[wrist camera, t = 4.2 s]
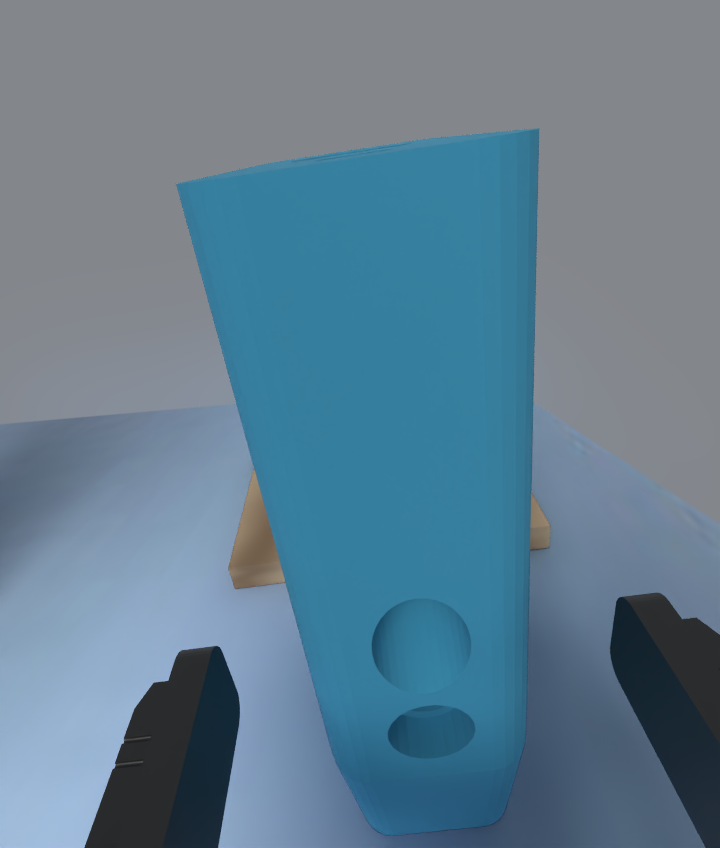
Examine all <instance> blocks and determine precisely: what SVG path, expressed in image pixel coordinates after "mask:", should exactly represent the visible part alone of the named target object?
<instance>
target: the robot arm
mask: <svg viewBox="0 0 720 848" xmlns="http://www.w3.org/2000/svg"><path fill="white" fill-rule="evenodd" d="M610 654H611V660H612V665H613V668H614V671H615V674H616V677H617V679H618V681H619V683H620V685H621V687H622V689H623V691H624V693H625V695H626V696H627V698H628V700H629V702H630V704H631V706H632V708H633V710H634V712H635V714H636V716H637V717H638V719H639V721H640V723H641V725H642V727H643V729H644V731H645V733H646V735H647V737H648V738H649V740H650V742H651V744H652V746H653V748H654V750H655V752H656V754H657V756H658V758H659V759H660V761H661V763H662V765H663V767H664V769H665V771H666V773H667V775H668V777H669V778H670V780H671V782H672V784H673V786H674V788H675V790H676V792H677V794H678V796H679V798H680V799H681V801H682V803H683V805H684V807H685V809H686V811H687V813H688V815H689V817H690V819H691V820H692V822H693V824H694V826H695V828H696V830H697V832H698V834H699V836H700V838H701V840H702V841H703V843H704V845H705V847H706V848H720V635H719V634H718V633H716V632H715V631H714V630H712V629H711V628H710V627H708V626H707V625H706V624H704V623H703V622H701V621H700V620H699V619H697V618H690V619H681V617H680V616H679V614H678V613H677V612H676V610H675V609H674V608H673V606H672V605H671V603H670V602H669V601H668V600H667V598H666V597H665V596H664V595H662V594H661V593H650V594H642V595H634V596H626V597H620V598H618V600H617V602H616V608H615V616H614V623H613V631H612V638H611V645H610ZM239 718H240V705H239V697H238V692H237V689H236V687H235V684H234V681H233V679H232V676H231V674H230V671H229V668H228V666H227V663H226V661H225V658H224V655H223V653H222V650H221V649H220V647H218V646H213V647H205V648H197V649H189V650H182V651H180V652H179V653H178V655H177V657H176V659H175V662H174V665H173V668H172V671H171V674H170V677H169V681H165V682H156V683H153V685H152V686H151V687H150V689H149V690H148V691H147V693H146V694H145V695H144V697H143V698H142V699H141V701H140V702H139V704H138V705H137V706H136V708H135V709H134V712H133V714H132V717H131V720H130V723H129V726H128V728H127V731H126V734H125V737H124V744H122V745H121V748H120V751H119V753H118V756H117V759H116V762H115V764H116V766H115V769H113V770H112V773H111V775H110V778H109V781H108V784H107V787H106V789H105V792H104V795H103V798H102V800H101V803H100V806H99V809H98V812H97V814H96V817H95V820H94V823H93V825H92V828H91V831H90V834H89V836H88V839H87V842H86V845H85V848H218V844H219V839H220V833H221V827H222V821H223V815H224V809H225V803H226V798H227V792H228V786H229V780H230V774H231V768H232V762H233V756H234V751H235V745H236V739H237V733H238V727H239Z"/></svg>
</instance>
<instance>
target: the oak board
mask: <svg viewBox="0 0 720 848" xmlns="http://www.w3.org/2000/svg"><path fill="white" fill-rule="evenodd" d="M549 547H550V524H549V522H548V520H547V519H546V517H545V515H544V513H543V511H542V510H541V508H540V506H539V504H538V503H537V501H536V499H535V497H534V496H533V494H532V492H531V526H530V550H535V549H543V548H549ZM228 569H229V572H230V575H231V578H232V581H233V584H234V587H235V589H239V588H246V587H254V586H261V585H269V584H277V583H284V582H285V579H284V575H283V571H282V568H281V564H280V560H279V557H278V553H277V549H276V546H275V542H274V538H273V535H272V531H271V528H270V524H269V520H268V517H267V513H266V509H265V506H264V502H263V498H262V495H261V491H260V487H259V484H258V480H257V477H256V473H255V469H254V470H253V474H252V478H251V481H250V485H249V489H248V493H247V497H246V501H245V505H244V509H243V513H242V517H241V520H240V524H239V528H238V532H237V536H236V540H235V544H234V548H233V552H232V556H231V559H230V563H229V567H228Z"/></svg>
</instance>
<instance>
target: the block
mask: <svg viewBox="0 0 720 848" xmlns="http://www.w3.org/2000/svg"><path fill="white" fill-rule="evenodd" d="M538 156H539V129H526V130H515V131H505V132H495V133H483V134H472V135H462V136H452V137H441V138H430V139H423V140H416V141H409V142H402V143H396V144H389V145H383V146H376V147H370V148H363V149H357V150H350V151H344V152H337V153H331V154H324V155H318V156H312V157H305V158H298V159H292V160H286V161H280V162H274V163H268V164H264V165H259V166H255V167H250V168H245V169H241V170H236V171H232V172H227V173H223V174H219V175H214V176H209V177H205V178H201V179H196V180H192V181H187V182H183V183H178V184H177V189H178V192H179V196H180V200H181V203H182V207H183V211H184V214H185V218H186V222H187V225H188V229H189V232H190V236H191V240H192V244H193V247H194V251H195V254H196V258H197V262H198V265H199V269H200V273H201V276H202V280H203V284H204V287H205V291H206V294H207V298H208V302H209V305H210V309H211V313H212V316H213V320H214V324H215V327H216V331H217V334H218V338H219V342H220V345H221V349H222V353H223V356H224V360H225V364H226V367H227V371H228V374H229V378H230V382H231V385H232V389H233V393H234V396H235V400H236V404H237V407H238V411H239V415H240V418H241V422H242V426H243V429H244V433H245V437H246V440H247V444H248V447H249V451H250V455H251V458H252V462H253V466H254V469H255V473H256V477H257V480H258V484H259V487H260V491H261V495H262V498H263V502H264V506H265V509H266V513H267V517H268V520H269V524H270V528H271V531H272V535H273V538H274V542H275V546H276V549H277V553H278V557H279V560H280V564H281V568H282V571H283V575H284V579H285V582H286V586H287V589H288V593H289V597H290V600H291V604H292V608H293V611H294V615H295V619H296V622H297V626H298V629H299V633H300V637H301V640H302V644H303V648H304V651H305V655H306V659H307V662H308V666H309V670H310V673H311V677H312V680H313V684H314V688H315V691H316V695H317V699H318V702H319V706H320V710H321V713H322V717H323V721H324V724H325V728H326V731H327V735H328V739H329V742H330V746H331V750H332V753H333V756H334V759H335V761H336V764H337V766H338V768H339V769H340V771H341V773H342V775H343V777H344V779H345V780H346V782H347V784H348V786H349V788H350V790H351V791H352V793H353V795H354V797H355V799H356V801H357V802H358V804H359V806H360V808H361V810H362V812H363V813H364V815H365V817H366V819H367V821H368V822H369V823H370V825H371V826H372V827H373V828H374V829H375V830H376V831H378V832H379V833H382V834H384V835H393V836H394V835H404V834H414V833H424V832H433V831H443V830H453V829H462V828H472V827H482V826H487V825H491V824H493V823H495V822H496V821H498V820H499V819H500V818H501V816H502V815H503V814H504V811H505V809H506V806H507V803H508V800H509V796H510V793H511V789H512V786H513V783H514V779H515V776H516V772H517V769H518V766H519V762H520V759H521V755H522V752H523V749H524V745H525V738H526V710H527V664H528V618H529V572H530V526H531V480H532V434H533V388H534V341H535V295H536V291H535V290H536V250H537V249H536V248H537V247H536V246H537V204H538V203H537V201H538V200H537V199H538V158H539V157H538Z"/></svg>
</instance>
